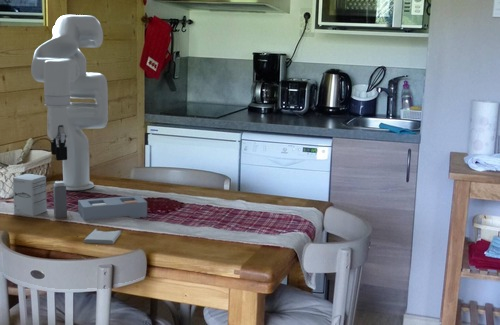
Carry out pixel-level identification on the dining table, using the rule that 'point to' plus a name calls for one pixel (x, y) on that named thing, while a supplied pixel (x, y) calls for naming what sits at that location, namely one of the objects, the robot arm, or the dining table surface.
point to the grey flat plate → (52, 218)
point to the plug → (60, 199)
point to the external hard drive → (102, 237)
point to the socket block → (113, 207)
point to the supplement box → (29, 194)
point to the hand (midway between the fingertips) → (59, 157)
